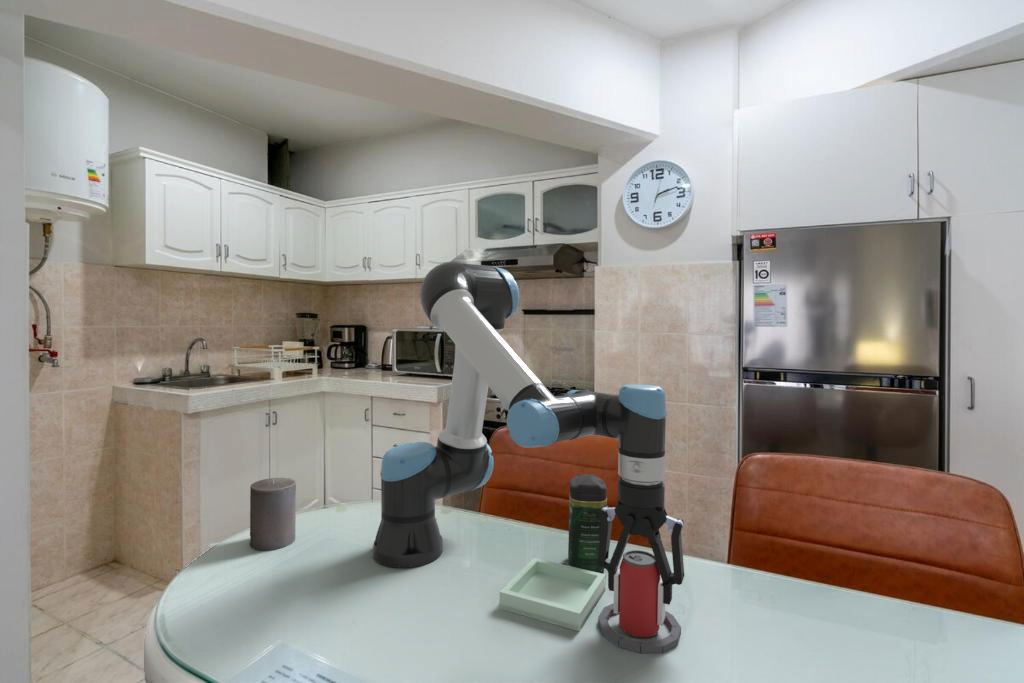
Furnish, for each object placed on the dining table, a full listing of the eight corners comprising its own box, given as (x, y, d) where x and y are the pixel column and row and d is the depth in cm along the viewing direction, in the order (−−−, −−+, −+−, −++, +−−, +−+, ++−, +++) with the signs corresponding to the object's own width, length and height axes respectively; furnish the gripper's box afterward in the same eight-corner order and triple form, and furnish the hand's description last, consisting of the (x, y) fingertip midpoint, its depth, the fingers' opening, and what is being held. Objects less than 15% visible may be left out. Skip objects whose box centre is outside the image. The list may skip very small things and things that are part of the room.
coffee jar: (608, 576, 103) (609, 485, 102) (568, 574, 103) (569, 483, 103) (603, 554, 112) (604, 471, 112) (567, 553, 113) (568, 470, 113)
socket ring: (589, 638, 82) (589, 632, 82) (611, 599, 94) (611, 594, 94) (672, 662, 76) (672, 656, 76) (685, 618, 88) (685, 612, 88)
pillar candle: (239, 547, 115) (239, 481, 114) (271, 530, 124) (272, 470, 123) (275, 554, 112) (275, 486, 111) (305, 536, 121) (305, 474, 121)
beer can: (629, 612, 90) (630, 545, 89) (665, 626, 86) (666, 556, 85) (611, 629, 85) (612, 558, 84) (649, 645, 81) (650, 570, 80)
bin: (499, 608, 91) (499, 591, 91) (533, 572, 104) (534, 557, 104) (579, 631, 84) (579, 613, 84) (605, 589, 97) (605, 574, 97)
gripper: (577, 476, 85) (576, 611, 86) (700, 494, 77) (698, 644, 77) (591, 465, 92) (590, 591, 93) (706, 480, 83) (703, 619, 84)
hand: (639, 615), depth 85 cm, fingers closed on beer can, 6 cm apart
